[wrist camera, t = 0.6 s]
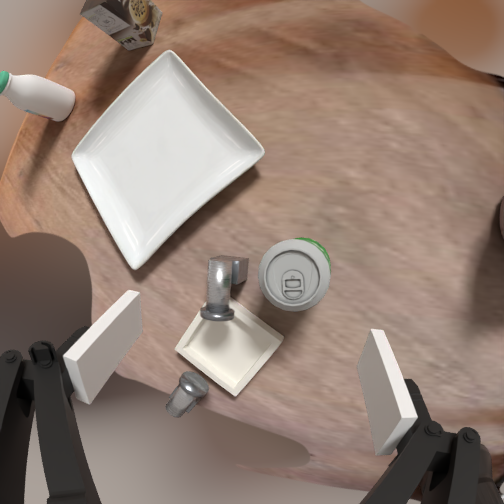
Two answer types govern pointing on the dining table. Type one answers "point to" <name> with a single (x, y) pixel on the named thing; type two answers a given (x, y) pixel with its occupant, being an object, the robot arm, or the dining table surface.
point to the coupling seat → (229, 347)
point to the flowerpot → (502, 218)
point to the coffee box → (125, 20)
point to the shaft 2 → (222, 286)
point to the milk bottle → (37, 95)
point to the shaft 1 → (186, 394)
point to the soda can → (295, 274)
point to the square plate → (161, 156)
